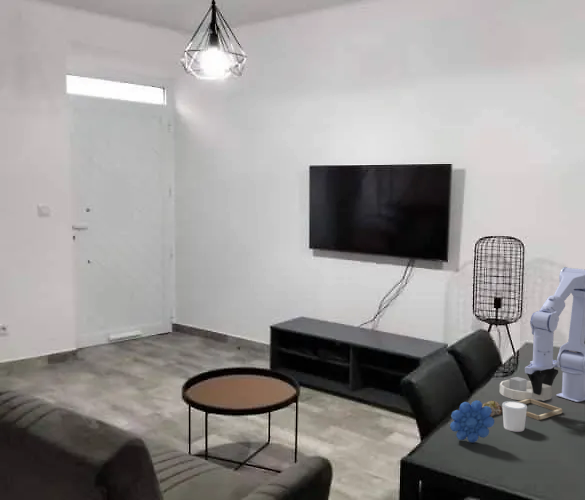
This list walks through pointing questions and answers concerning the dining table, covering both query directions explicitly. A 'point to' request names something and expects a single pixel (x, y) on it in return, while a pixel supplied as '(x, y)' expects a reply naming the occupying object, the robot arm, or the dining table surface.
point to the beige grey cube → (543, 393)
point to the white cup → (514, 415)
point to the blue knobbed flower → (472, 421)
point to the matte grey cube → (518, 384)
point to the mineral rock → (493, 407)
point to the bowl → (514, 393)
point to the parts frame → (545, 415)
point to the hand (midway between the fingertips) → (541, 392)
